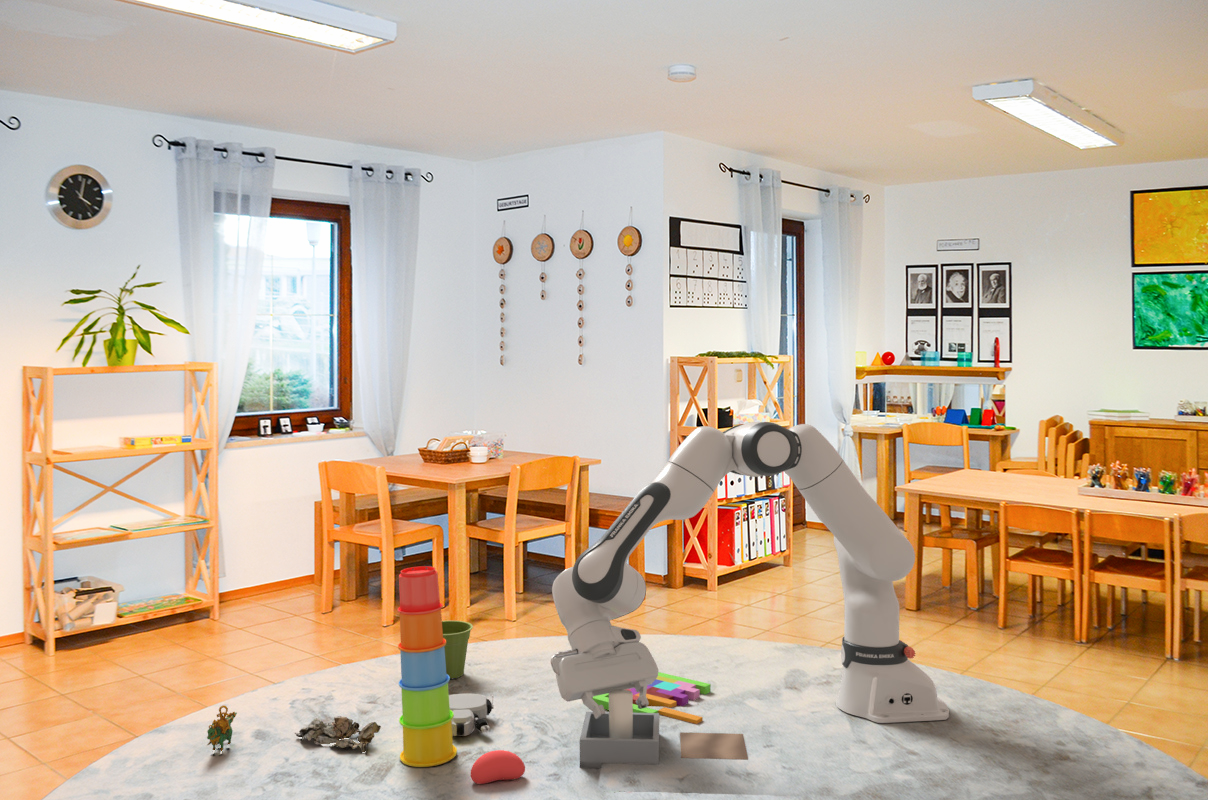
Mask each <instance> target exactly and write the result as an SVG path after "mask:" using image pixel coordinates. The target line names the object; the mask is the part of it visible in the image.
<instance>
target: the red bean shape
mask: <svg viewBox="0 0 1208 800" xmlns="http://www.w3.org/2000/svg"><path fill="white" fill-rule="evenodd" d="M525 771H526V765H525V763H524V761H523V760H522V758H521V757H520V756H519V755H517V754H516V753H514V752H511V751H510V750H504V749H503V750H501V749H498V750H497V749H496V750H491V751H488V752H486V753H484V754H482V755H481V756H479V757H478V758H477V759H476V760H475V762H474V763H473V764H472V766H471V769H470V772H469V773H470V779H471V781H472V782H474V783H475V784H477V785H484V784H488V783H489V784H490V783H492V782H496V781H505V780H507V781H509V780H517V779H519V778H521V777H523V776H524V774H525Z"/></svg>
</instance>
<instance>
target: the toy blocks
mask: <svg viewBox="0 0 1208 800" xmlns="http://www.w3.org/2000/svg"><path fill="white" fill-rule="evenodd" d="M626 690H628V691H631V692H632V693H633V713H659V716H664V717H667V718H672V719H674V720H675V719H676V720H680V721H683V722H687V723H689V724H690V723H691V724H694V725H698V724H699V723H701V722H703V720H704V719H703V718H704V717H703V716H700V715H696V714H692V713H688V712H684V711H680V710H677V709H673V708H677V706H680V707H684V706H686V705H688V704H689V700H691V701H696V700H697V699H699V698H701V697H700V694H701V695H704V696H705V695H707V694H709V693H711V683H707V682H704V681H699V680H694V679H690V678H686V677H681V676H677V675H672V674H669V673H664V672H660V671H659V672H658V676H657V678H656V679H655V681H654V682H653V683H652V684H650V685H647V692H646V697H647V700H648V702H649V705H648V706H647V707H646V708H642V709H639V708H638V705H637V704H636V700H637V699H638V698H639V692H636V689H635V688H631V689H626ZM592 699H593V700H594V701H595V702H596V703H597V704H598V705H603V707H604V709H607V710H606V711H608V710H609V693H607V694H602V695H597V696H593V698H592ZM649 707H650V708H649ZM651 707H656V708H657V707H660V709H654V708H651ZM661 707H662V708H661Z"/></svg>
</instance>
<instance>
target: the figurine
mask: <svg viewBox="0 0 1208 800" xmlns="http://www.w3.org/2000/svg"><path fill="white" fill-rule="evenodd" d="M222 708H224V709H225V711H224V712H223V711H222ZM228 708H229V707H227V706H226V705H224V704H223V705H220V706H219V709H218V712H219V713H217V714H216V718H218V719H217V720H216V719H213V721H212V724H209V726H208V729H207V736H206V738H207V740H209V742H208V743H207V744H206V746H210V745H212V750H215V749H216V750H217V747H216V746H217V745H219V746H220V745H221V748H220V749H219V751H220V750H221V751H222V750H223V751H224V743H225V742H226V741H227V745H228V744H230V743H231V744H232V738H233V737H232V736H233V728H232V726H231V725H232V723H233V722H234V719H235V718H236V716H237V714H238V712H235V711H232V712H229V709H228ZM228 712H229V713H228ZM231 744H230V745H231ZM216 750H215V751H216ZM223 751H222V752H223Z"/></svg>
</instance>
